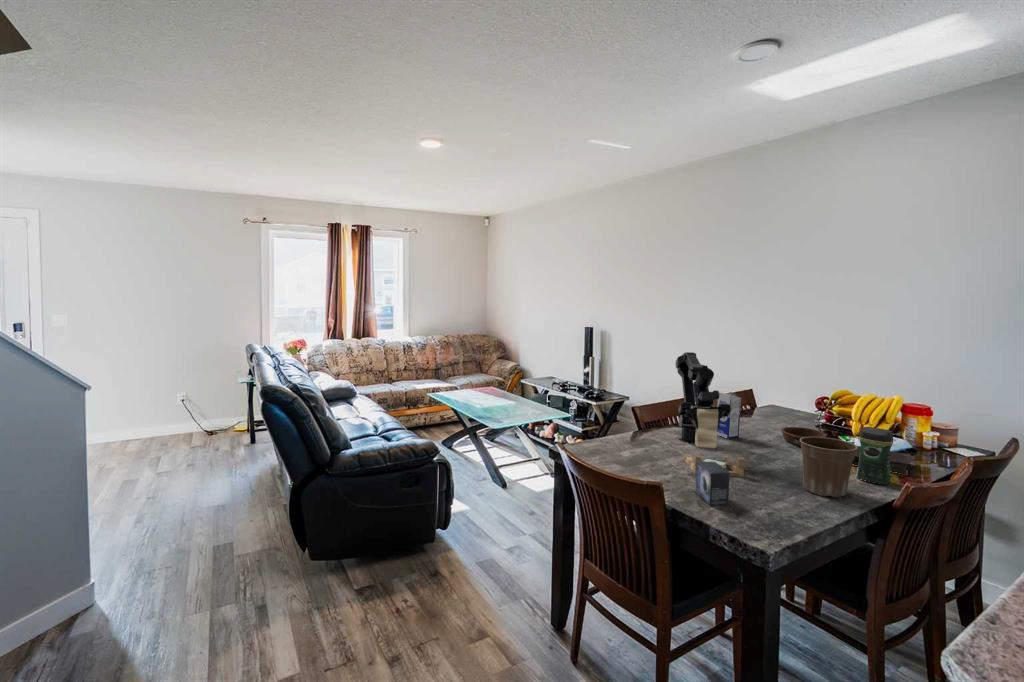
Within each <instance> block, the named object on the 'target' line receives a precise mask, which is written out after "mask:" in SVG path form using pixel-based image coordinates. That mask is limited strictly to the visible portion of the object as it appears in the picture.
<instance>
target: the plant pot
mask: <svg viewBox="0 0 1024 682" xmlns="http://www.w3.org/2000/svg"><path fill="white" fill-rule="evenodd" d="M800 442H801V446H800V449H801V450H800V451H801V453H802V480H803V481H802V482H803V485H802V486H803V488H804V490H806V491H807V492H809V493H811V494H813V493H814V495H816V494H817V495H818V496H822V497H828V496H830V497H832V498H842V497H841V496H843V497H845V496H846V495H847V491H848V488H849V487H848V486H849V481H850V476H851V471H852V467H853V466H852V461H853V460H854V456H855V452H856V450H857V449H858V447H857V446H858V445H856V444H854V443H851V442H849V441H846V440H841V439H838V438H832V437H803V438H800ZM817 495H816V496H817Z"/></svg>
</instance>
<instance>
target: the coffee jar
mask: <svg viewBox="0 0 1024 682" xmlns="http://www.w3.org/2000/svg"><path fill="white" fill-rule="evenodd" d="M858 436H859V437H858V440H859V443H860V446H861V450H860V457H859V463H858V467H857V469H856V478H857V479H858V478H859V480H860V479H862V480H861V481H863V480H866V481H870V482H874V483H873V484H875V483H880V484H879V485H888V483H889V484H890V483H891V476H892V475H891V474H892V473H891V472H890V451H891V448H892V446H893V444H894V433H893V430H892V429H891V430H890V429H885V428H878V427H873V426H867V425H865V426H863V427H861V429H860V432H859V435H858ZM866 481H865V482H866ZM870 482H869V483H870Z"/></svg>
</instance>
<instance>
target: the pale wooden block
mask: <svg viewBox="0 0 1024 682" xmlns="http://www.w3.org/2000/svg"><path fill="white" fill-rule="evenodd" d="M697 422H698V429H696V436H695V442H694V444H695V446H696V447H697V448H710V449H717V443H718V442H717V439H718V436H717V428H718V411H717V410H716V409H697Z"/></svg>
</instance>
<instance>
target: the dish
mask: <svg viewBox="0 0 1024 682" xmlns="http://www.w3.org/2000/svg"><path fill="white" fill-rule="evenodd" d="M780 431H781V433H782V437H783V439H784V440H785V441H786V442H787V443H790V444H794V445H796V446H799V447H801V442H800V438H803V437H825V438H827V433H825V432H823V431H821V430H817V429H813V428H809V427H803V426H799V427H798V426H786V427H782V428H780Z"/></svg>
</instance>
